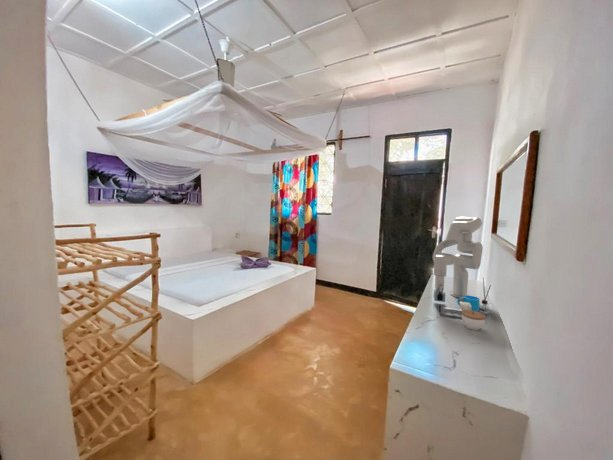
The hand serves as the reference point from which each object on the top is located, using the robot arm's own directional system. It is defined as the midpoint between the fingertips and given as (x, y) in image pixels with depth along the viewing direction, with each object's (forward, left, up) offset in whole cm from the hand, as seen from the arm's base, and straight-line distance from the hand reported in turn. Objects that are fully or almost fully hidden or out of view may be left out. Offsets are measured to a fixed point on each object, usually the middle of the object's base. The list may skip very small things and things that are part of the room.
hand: (439, 298), depth 167 cm
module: (0, 0, -1) cm, 1 cm away
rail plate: (+14, +7, -4) cm, 16 cm away
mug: (+2, +16, -4) cm, 17 cm away
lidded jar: (+31, +13, -4) cm, 34 cm away
